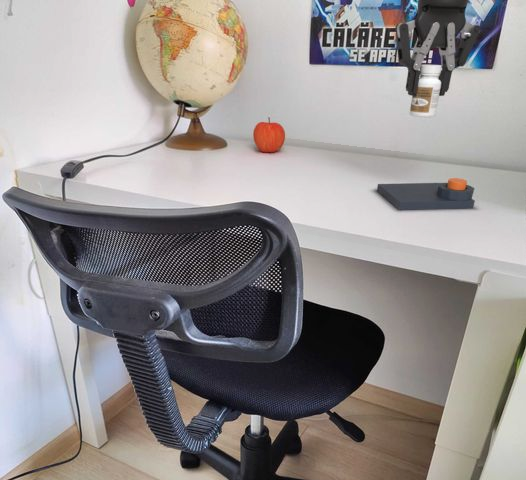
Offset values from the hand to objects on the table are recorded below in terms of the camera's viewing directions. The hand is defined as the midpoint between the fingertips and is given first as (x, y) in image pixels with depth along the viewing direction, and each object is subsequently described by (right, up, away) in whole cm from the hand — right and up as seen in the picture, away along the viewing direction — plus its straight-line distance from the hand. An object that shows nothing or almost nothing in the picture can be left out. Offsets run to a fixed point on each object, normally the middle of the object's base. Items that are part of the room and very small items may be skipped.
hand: (426, 94), depth 85 cm
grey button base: (+2, -16, +8) cm, 18 cm away
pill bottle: (0, -3, +2) cm, 4 cm away
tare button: (+7, -15, +5) cm, 17 cm away
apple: (-27, +6, +41) cm, 49 cm away
